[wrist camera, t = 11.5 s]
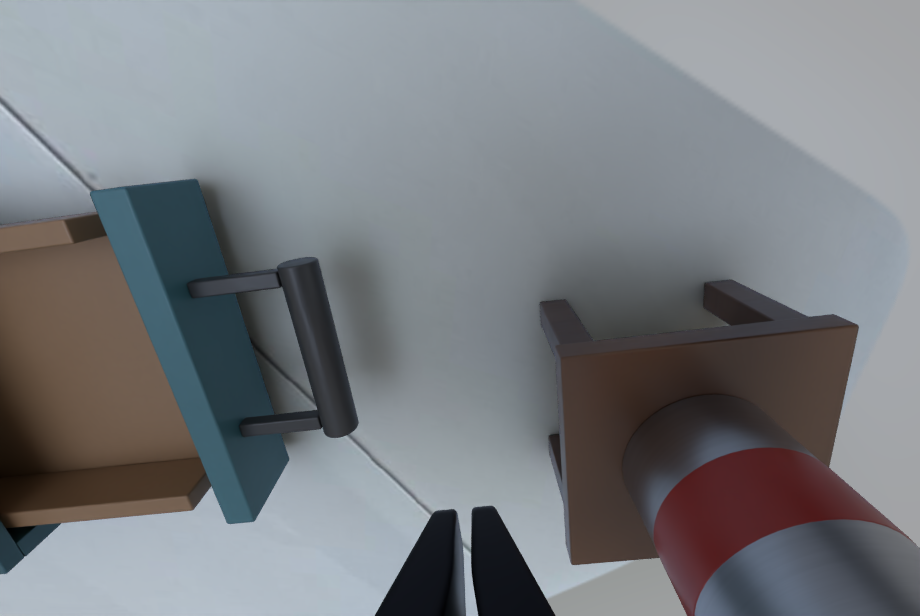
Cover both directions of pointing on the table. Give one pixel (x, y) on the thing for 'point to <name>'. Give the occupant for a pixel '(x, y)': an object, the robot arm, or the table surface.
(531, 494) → the table surface
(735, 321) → the stool
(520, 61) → the table surface
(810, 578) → the can
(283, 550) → the table surface
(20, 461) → the drawer
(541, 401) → the table surface
